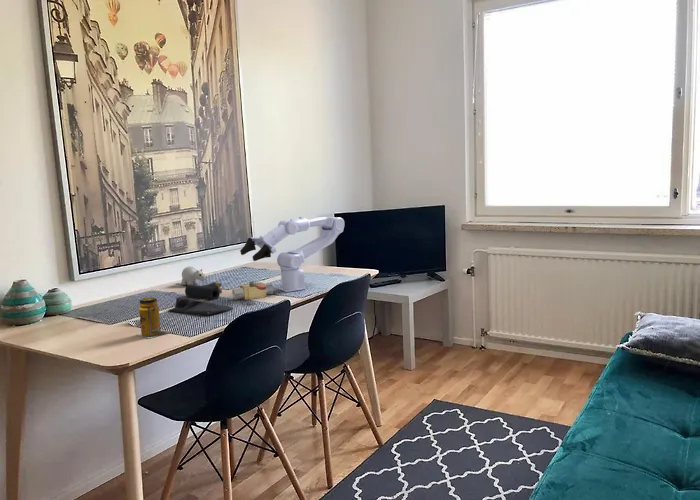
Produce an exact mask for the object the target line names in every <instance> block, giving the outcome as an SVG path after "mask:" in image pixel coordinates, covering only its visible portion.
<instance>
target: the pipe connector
mask: <svg viewBox="0 0 700 500" xmlns="http://www.w3.org/2000/svg"><path fill="white" fill-rule="evenodd" d="M221 287H222V283H221V282H216V281H214V282H211V283H207V284H205V285H198V284H196V285H186V287H185V289H184V294H185V296H187V297H189V296H190V297H192V298H195V299H196V298H197V299H203V300H211V301H215V300H218V299H219V298H220V295H221V294H222V293H223V290H222V289H221Z"/></svg>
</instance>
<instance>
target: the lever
mask: <svg viewBox="0 0 700 500" xmlns="http://www.w3.org/2000/svg"><path fill="white" fill-rule="evenodd" d="M248 283H249V285H252V286H254V287H256V288H257V289H259V290H266V286H264V285H262V284H258V283H257V281H255V280H251V281H249V282H248Z"/></svg>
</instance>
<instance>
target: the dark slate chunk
mask: <svg viewBox="0 0 700 500" xmlns="http://www.w3.org/2000/svg"><path fill="white" fill-rule="evenodd" d="M233 310H234V307H232V306H228V305H223V304H219V303H214V302H210V301H206V300H205V301H204V300H199V299H192V298H187V297H185V298H184V297H177V298H176V299H175V305H174V307H173V308H171V309H169V312H171V313H173V312H174V313H180V314H185V313H187V314H189V313H190V314H191V315H197V314H199V315H200V316H211V315H212V316H213V315H215V314H219V313H225V312H229V311H233ZM199 315H198V316H199Z"/></svg>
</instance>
